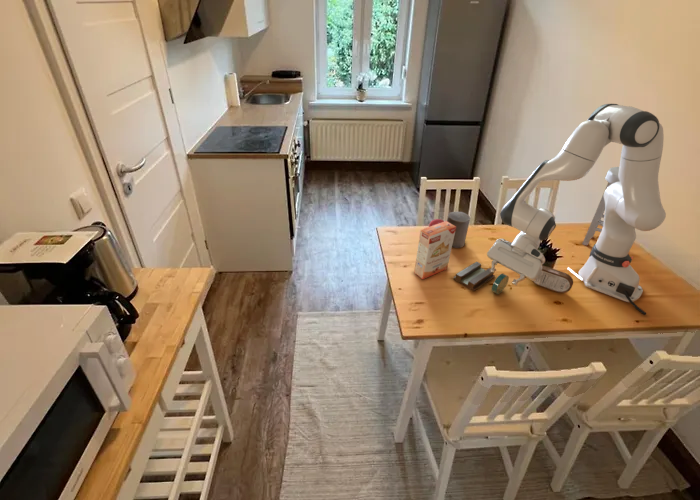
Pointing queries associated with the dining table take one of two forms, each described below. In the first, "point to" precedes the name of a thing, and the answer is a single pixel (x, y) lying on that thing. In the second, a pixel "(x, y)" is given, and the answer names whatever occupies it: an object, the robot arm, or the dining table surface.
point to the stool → (601, 206)
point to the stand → (474, 276)
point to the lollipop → (435, 222)
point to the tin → (554, 280)
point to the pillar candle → (459, 227)
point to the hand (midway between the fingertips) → (502, 278)
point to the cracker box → (434, 249)
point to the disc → (500, 283)
